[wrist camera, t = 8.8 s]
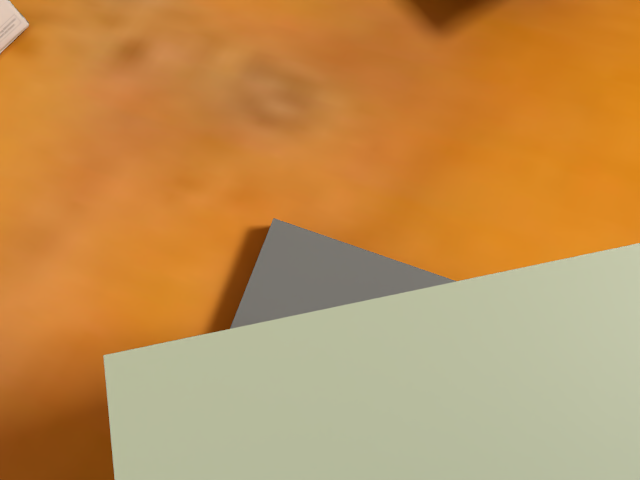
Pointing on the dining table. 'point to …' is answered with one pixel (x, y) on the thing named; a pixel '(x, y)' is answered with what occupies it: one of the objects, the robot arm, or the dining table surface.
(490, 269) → the dining table surface
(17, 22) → the syrup box
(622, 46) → the dining table surface
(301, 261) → the slate trivet
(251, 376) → the sage block
